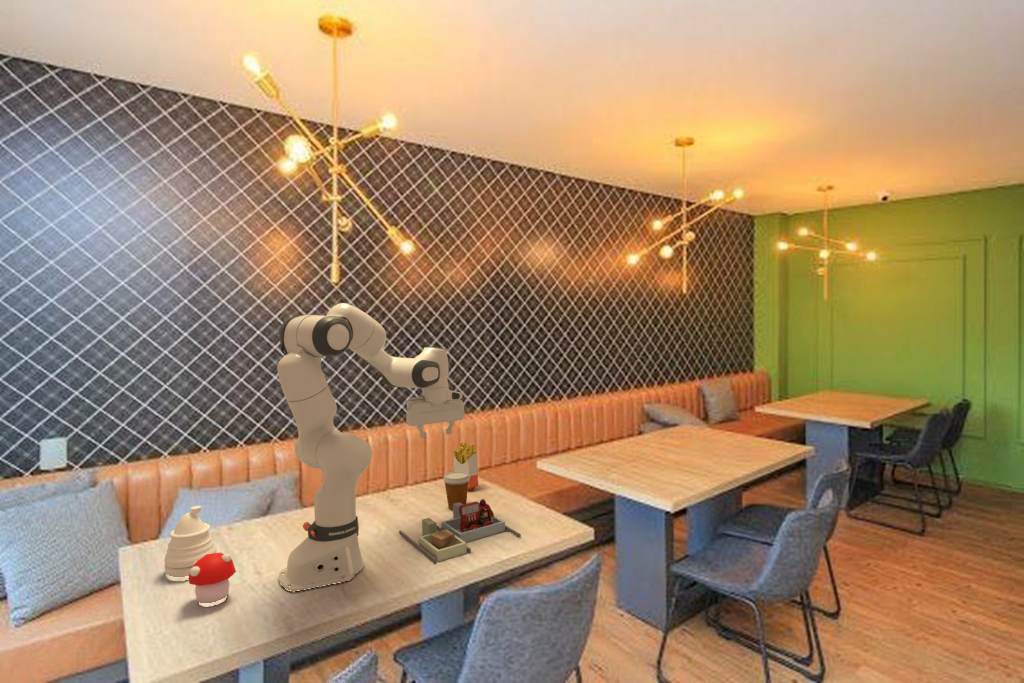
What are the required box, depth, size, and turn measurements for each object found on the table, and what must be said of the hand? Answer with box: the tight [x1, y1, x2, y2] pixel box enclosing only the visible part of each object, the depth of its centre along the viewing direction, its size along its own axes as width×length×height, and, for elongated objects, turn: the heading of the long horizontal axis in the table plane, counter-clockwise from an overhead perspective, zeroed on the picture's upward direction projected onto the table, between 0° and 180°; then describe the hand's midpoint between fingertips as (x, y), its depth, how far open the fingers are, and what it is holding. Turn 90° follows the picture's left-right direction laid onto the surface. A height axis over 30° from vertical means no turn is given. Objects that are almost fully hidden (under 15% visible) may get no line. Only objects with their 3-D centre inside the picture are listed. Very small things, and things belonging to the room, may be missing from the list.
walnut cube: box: [431, 530, 455, 550], centre depth 170 cm, size 5×5×5 cm
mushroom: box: [188, 552, 237, 603], centre depth 143 cm, size 11×11×12 cm
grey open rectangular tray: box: [440, 502, 506, 543], centre depth 186 cm, size 17×18×6 cm
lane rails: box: [398, 524, 522, 565], centre depth 180 cm, size 30×26×1 cm
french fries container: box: [452, 441, 479, 491], centre depth 226 cm, size 5×11×18 cm, turn 40°
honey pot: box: [164, 505, 218, 577], centre depth 160 cm, size 13×13×18 cm
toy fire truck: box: [459, 498, 495, 533], centre depth 182 cm, size 7×12×10 cm, turn 124°
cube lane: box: [418, 517, 468, 563], centre depth 172 cm, size 10×18×6 cm, turn 34°
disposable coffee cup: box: [442, 471, 470, 511], centre depth 205 cm, size 10×10×12 cm
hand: (436, 436), depth 190 cm, fingers open, 8 cm apart
